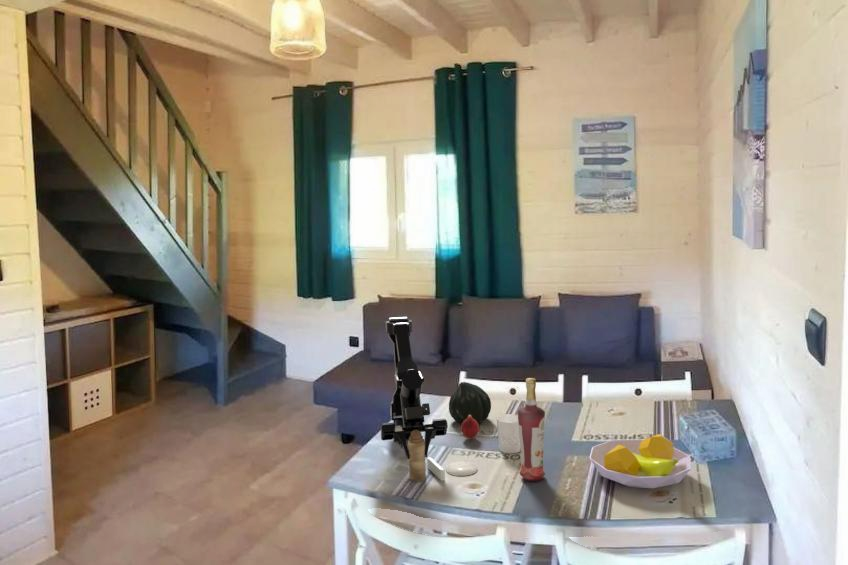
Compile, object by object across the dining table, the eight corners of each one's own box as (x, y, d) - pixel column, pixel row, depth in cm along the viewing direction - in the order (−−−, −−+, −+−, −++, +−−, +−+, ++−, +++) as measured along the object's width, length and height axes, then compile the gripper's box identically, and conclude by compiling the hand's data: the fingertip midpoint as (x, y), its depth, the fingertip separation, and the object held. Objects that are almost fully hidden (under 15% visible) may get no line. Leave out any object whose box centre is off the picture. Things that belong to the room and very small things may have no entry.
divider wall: (427, 467, 189) (427, 457, 189) (431, 467, 190) (430, 457, 189) (441, 480, 180) (441, 470, 180) (444, 480, 180) (444, 469, 180)
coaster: (440, 472, 186) (440, 470, 186) (455, 461, 193) (455, 459, 193) (468, 478, 181) (468, 477, 181) (482, 466, 188) (482, 465, 188)
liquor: (539, 485, 175) (538, 384, 171) (514, 480, 179) (512, 381, 175) (549, 475, 181) (548, 377, 177) (525, 470, 185) (523, 374, 181)
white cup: (525, 446, 203) (524, 415, 202) (520, 455, 196) (520, 423, 194) (500, 443, 206) (499, 413, 204) (494, 453, 198) (494, 421, 197)
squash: (505, 404, 227) (478, 370, 231) (485, 418, 215) (457, 382, 219) (479, 425, 235) (453, 391, 238) (459, 440, 222) (432, 404, 226)
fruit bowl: (579, 459, 191) (579, 422, 190) (673, 457, 190) (673, 420, 189) (602, 504, 163) (602, 461, 162) (712, 502, 162) (713, 458, 161)
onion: (478, 442, 207) (477, 418, 206) (460, 442, 208) (459, 418, 207) (480, 436, 213) (479, 412, 212) (462, 435, 214) (462, 412, 213)
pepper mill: (406, 479, 181) (404, 431, 180) (415, 473, 185) (413, 426, 184) (420, 483, 179) (418, 433, 177) (428, 476, 183) (427, 428, 181)
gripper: (379, 395, 182) (384, 448, 172) (445, 391, 184) (453, 442, 175) (379, 414, 191) (383, 465, 181) (442, 409, 193) (449, 459, 184)
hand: (417, 457), depth 180 cm, fingers closed on pepper mill, 5 cm apart
